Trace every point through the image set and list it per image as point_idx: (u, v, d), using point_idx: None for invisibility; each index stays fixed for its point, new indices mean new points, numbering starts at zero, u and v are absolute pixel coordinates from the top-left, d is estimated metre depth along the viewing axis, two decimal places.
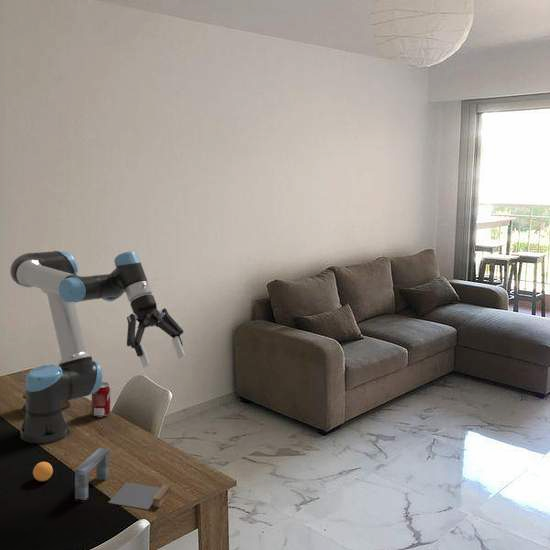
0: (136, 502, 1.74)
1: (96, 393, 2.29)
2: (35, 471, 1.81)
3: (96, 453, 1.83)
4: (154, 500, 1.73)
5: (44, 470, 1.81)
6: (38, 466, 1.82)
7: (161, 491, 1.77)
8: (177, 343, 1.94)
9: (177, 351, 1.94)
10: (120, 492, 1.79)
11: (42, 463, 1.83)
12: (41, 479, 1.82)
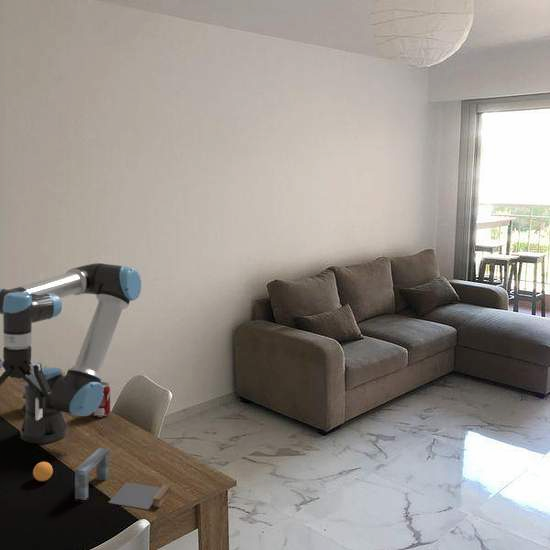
0: (136, 502, 1.74)
1: None
2: (35, 471, 1.81)
3: (96, 453, 1.83)
4: (154, 500, 1.73)
5: (44, 470, 1.81)
6: (38, 466, 1.82)
7: (161, 491, 1.77)
8: None
9: None
10: (120, 492, 1.79)
11: (42, 463, 1.83)
12: (41, 479, 1.82)
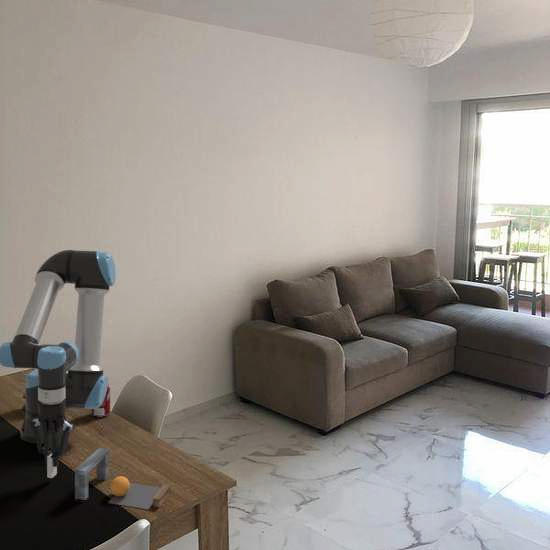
0: (136, 502, 1.74)
1: None
2: (119, 492, 1.75)
3: (96, 453, 1.83)
4: (154, 500, 1.73)
5: None
6: (121, 495, 1.76)
7: (161, 491, 1.77)
8: None
9: None
10: None
11: None
12: (111, 486, 1.76)
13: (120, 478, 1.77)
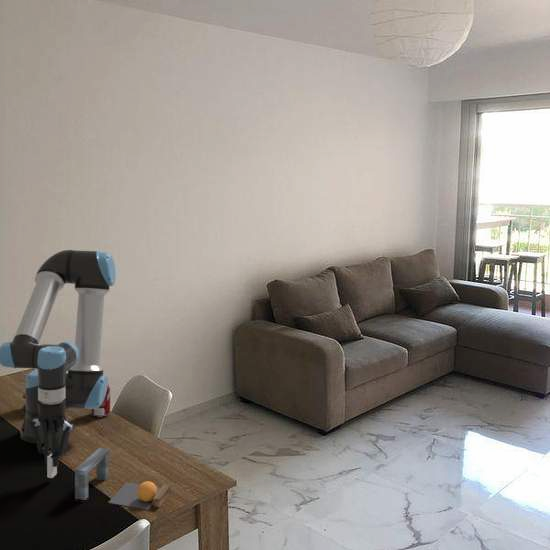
0: (136, 502, 1.74)
1: None
2: (139, 493, 1.74)
3: (96, 453, 1.83)
4: (154, 500, 1.73)
5: (146, 488, 1.74)
6: (140, 487, 1.74)
7: (161, 491, 1.77)
8: None
9: None
10: (120, 492, 1.79)
11: (142, 483, 1.75)
12: (149, 498, 1.74)
13: None
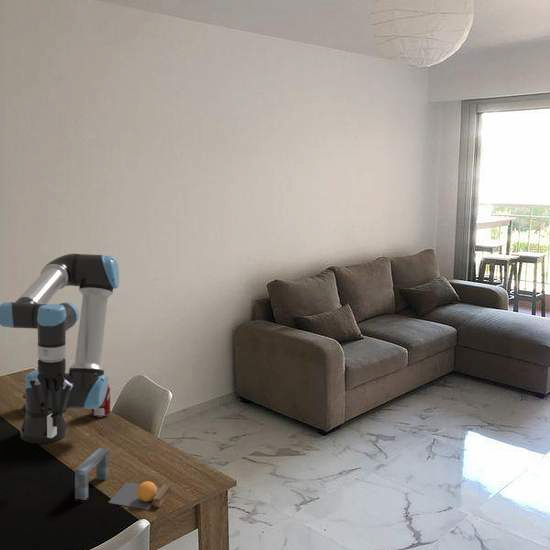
0: (136, 502, 1.74)
1: None
2: (139, 493, 1.74)
3: (96, 453, 1.83)
4: (154, 500, 1.73)
5: (146, 488, 1.74)
6: (140, 487, 1.74)
7: (161, 491, 1.77)
8: None
9: None
10: (120, 492, 1.79)
11: (142, 483, 1.75)
12: (149, 498, 1.74)
13: None
